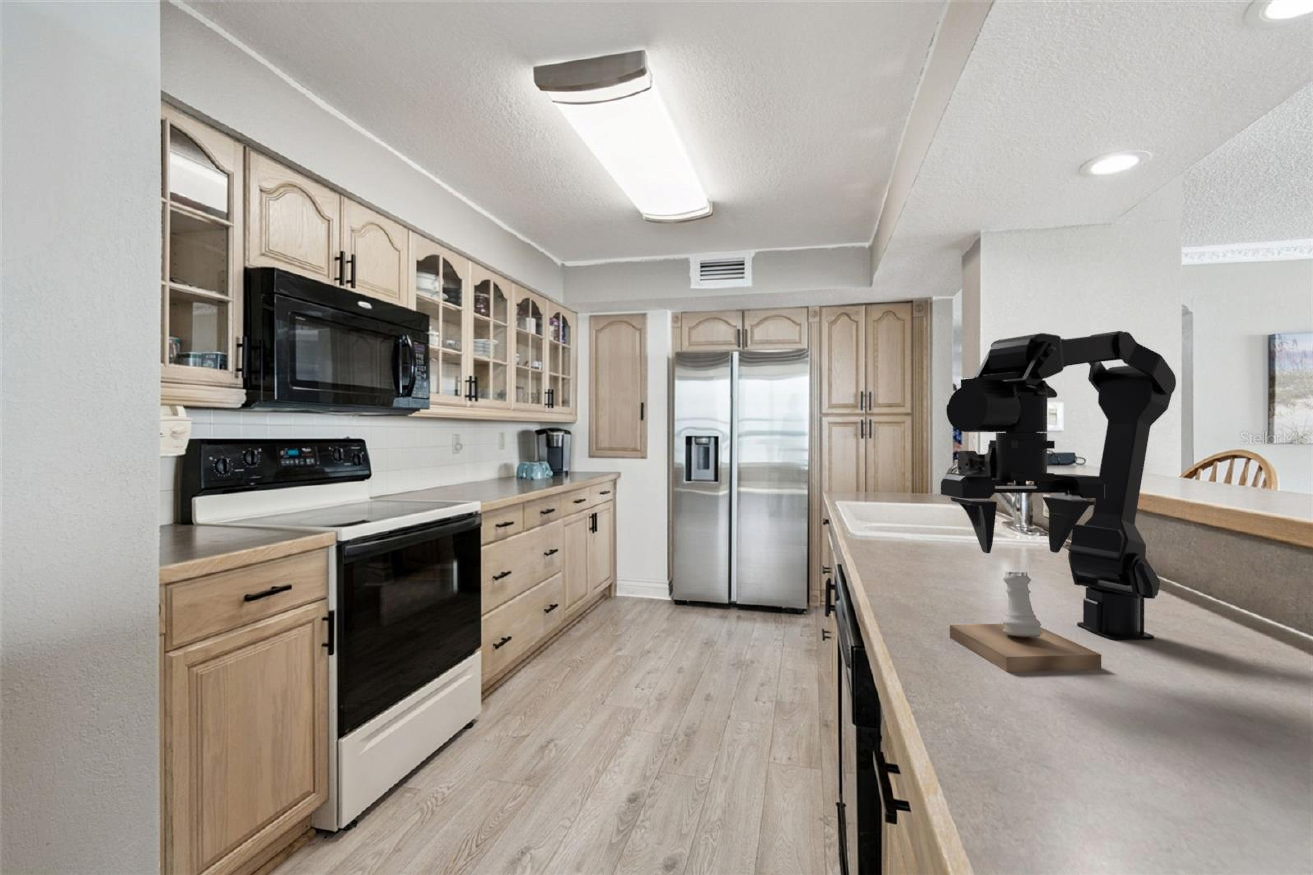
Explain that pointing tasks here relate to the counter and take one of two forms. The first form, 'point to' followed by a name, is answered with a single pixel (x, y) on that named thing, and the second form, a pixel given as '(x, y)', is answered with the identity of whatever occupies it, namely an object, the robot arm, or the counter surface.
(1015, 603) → the rook chess piece
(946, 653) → the counter surface
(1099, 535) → the robot arm
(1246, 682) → the counter surface
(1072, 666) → the walnut block
